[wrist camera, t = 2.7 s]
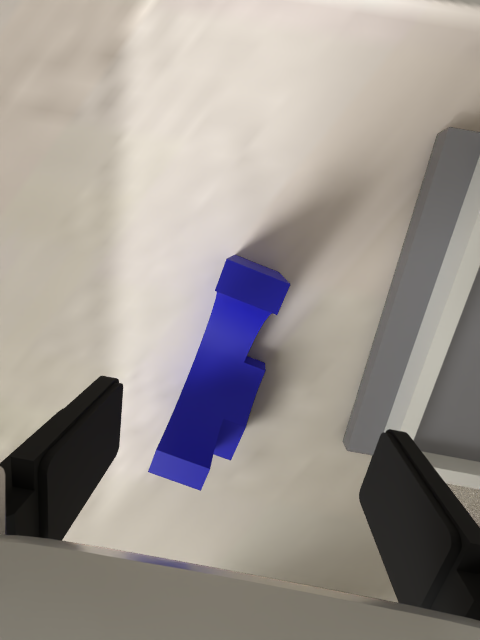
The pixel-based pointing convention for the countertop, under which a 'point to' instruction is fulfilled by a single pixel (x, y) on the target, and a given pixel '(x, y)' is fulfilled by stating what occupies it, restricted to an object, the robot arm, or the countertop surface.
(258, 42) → the countertop surface
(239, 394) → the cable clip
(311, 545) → the countertop surface
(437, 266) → the plate
